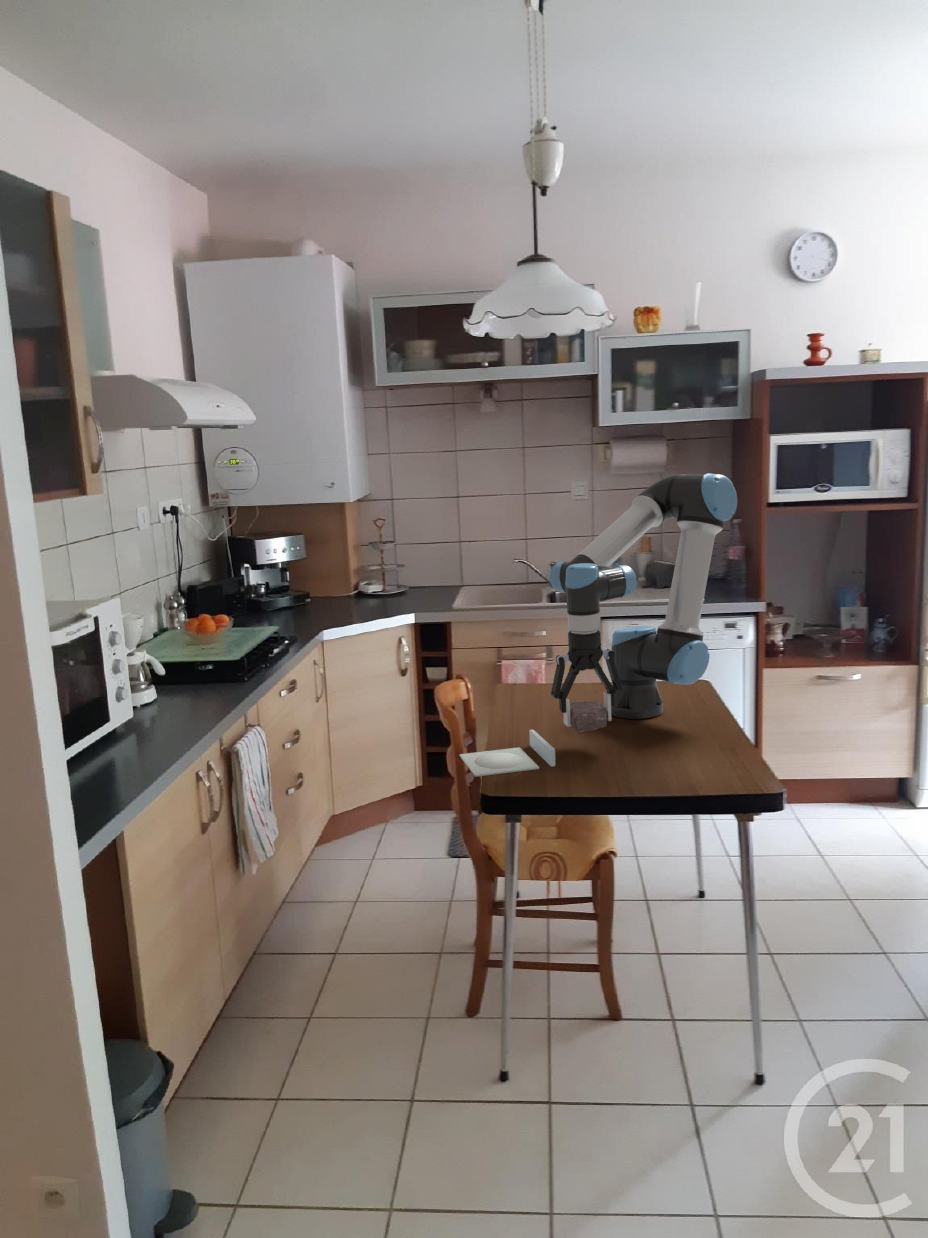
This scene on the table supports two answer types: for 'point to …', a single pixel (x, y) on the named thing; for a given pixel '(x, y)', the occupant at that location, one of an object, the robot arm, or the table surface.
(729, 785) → the table surface
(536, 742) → the acrylic wall
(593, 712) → the stone
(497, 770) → the rest mat
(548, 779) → the table surface
